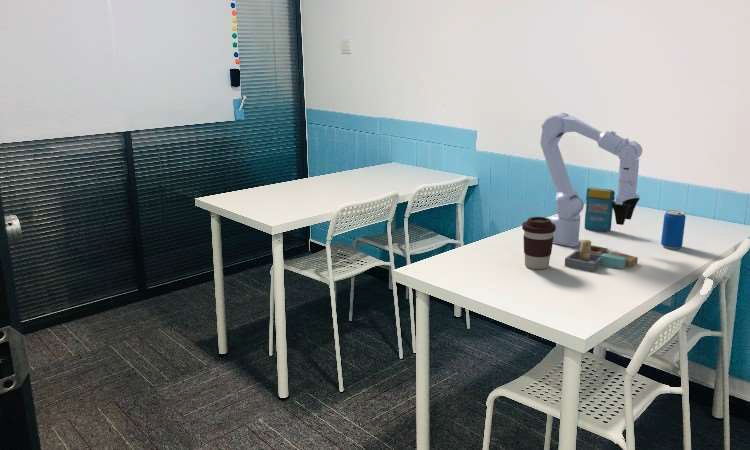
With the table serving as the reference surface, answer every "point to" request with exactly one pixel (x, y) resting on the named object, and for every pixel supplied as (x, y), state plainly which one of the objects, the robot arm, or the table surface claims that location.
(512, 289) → the table surface
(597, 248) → the socket
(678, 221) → the beverage can
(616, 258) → the teal rectangular block
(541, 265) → the coffee cup
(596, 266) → the tray
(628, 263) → the tan wooden slab
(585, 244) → the dowel
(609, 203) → the teal coffee bag
